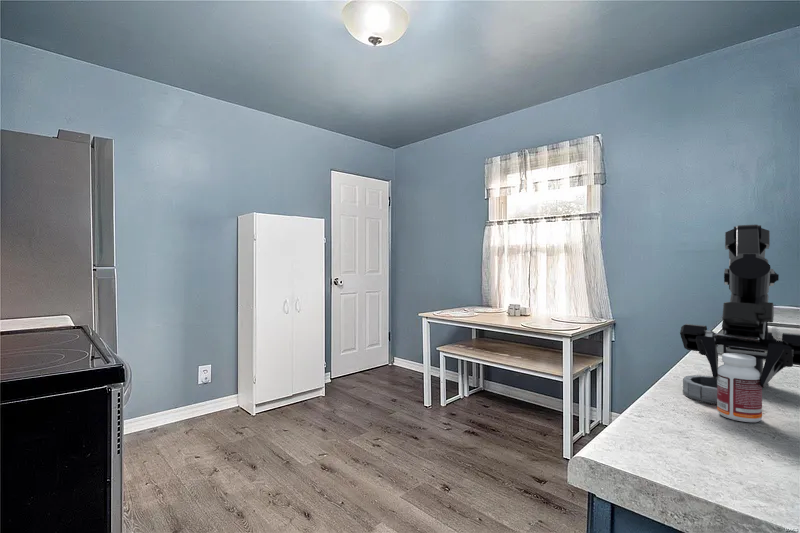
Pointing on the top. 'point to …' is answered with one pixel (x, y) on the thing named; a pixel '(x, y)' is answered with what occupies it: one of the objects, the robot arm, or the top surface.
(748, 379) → the pill bottle
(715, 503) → the top surface
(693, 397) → the ring
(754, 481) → the top surface
